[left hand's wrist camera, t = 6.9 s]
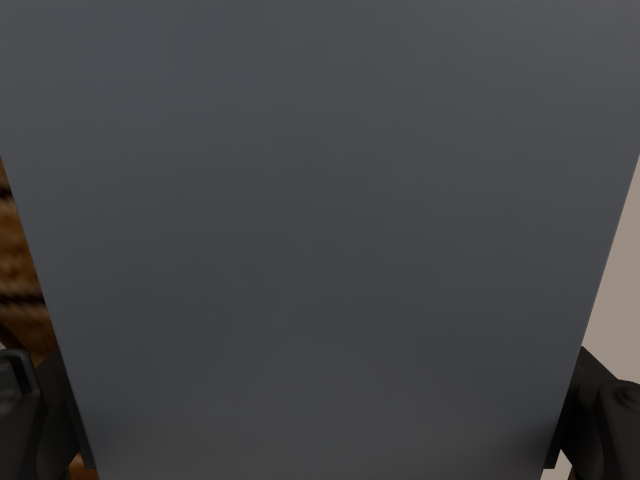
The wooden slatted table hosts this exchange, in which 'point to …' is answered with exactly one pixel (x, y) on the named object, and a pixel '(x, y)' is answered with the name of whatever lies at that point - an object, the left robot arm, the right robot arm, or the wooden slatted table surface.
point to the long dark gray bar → (319, 224)
